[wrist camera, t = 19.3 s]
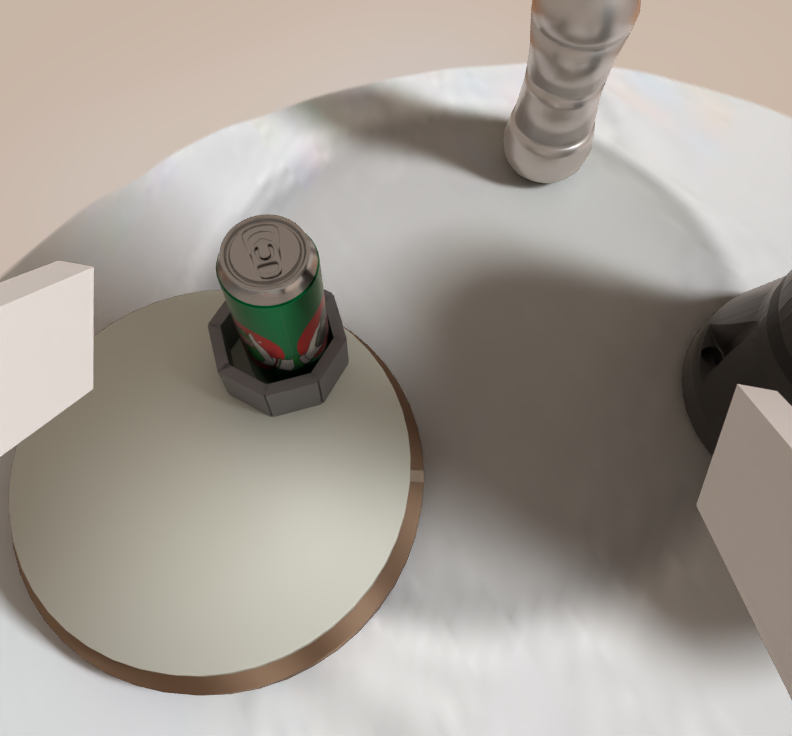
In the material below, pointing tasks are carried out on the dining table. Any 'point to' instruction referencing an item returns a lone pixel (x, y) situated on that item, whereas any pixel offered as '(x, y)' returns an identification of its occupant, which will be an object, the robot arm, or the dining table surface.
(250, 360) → the soda can
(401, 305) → the dining table surface
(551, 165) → the plastic bottle
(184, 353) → the dial
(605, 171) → the dining table surface
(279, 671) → the base
